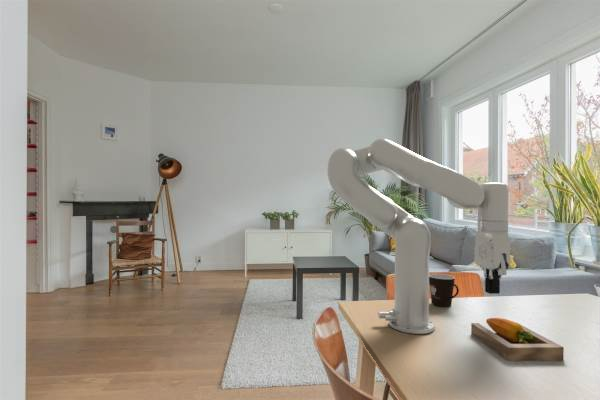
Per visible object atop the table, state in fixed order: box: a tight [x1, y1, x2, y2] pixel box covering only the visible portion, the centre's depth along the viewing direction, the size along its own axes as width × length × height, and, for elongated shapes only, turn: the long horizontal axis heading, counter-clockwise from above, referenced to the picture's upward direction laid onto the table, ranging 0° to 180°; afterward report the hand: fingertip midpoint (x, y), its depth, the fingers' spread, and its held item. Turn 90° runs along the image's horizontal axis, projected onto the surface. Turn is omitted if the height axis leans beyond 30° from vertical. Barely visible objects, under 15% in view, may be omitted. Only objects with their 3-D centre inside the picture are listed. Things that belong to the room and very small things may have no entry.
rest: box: [470, 322, 565, 362], centre depth 87 cm, size 13×16×3 cm
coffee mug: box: [429, 273, 460, 308], centre depth 121 cm, size 12×9×10 cm
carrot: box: [485, 317, 533, 344], centre depth 92 cm, size 5×5×15 cm
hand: (492, 292), depth 96 cm, fingers closed
